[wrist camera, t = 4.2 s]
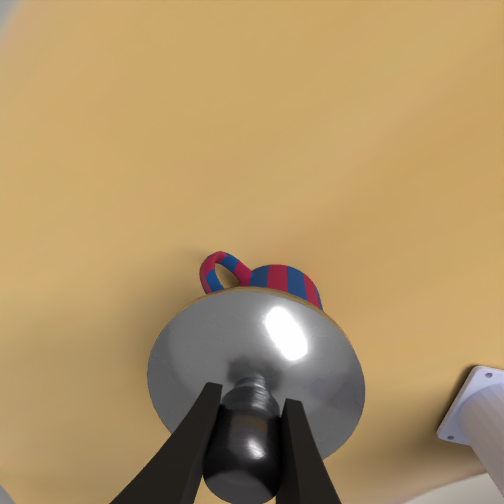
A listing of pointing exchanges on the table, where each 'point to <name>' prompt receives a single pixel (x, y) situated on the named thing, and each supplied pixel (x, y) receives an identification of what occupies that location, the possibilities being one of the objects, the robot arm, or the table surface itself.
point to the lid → (256, 381)
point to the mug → (259, 277)
